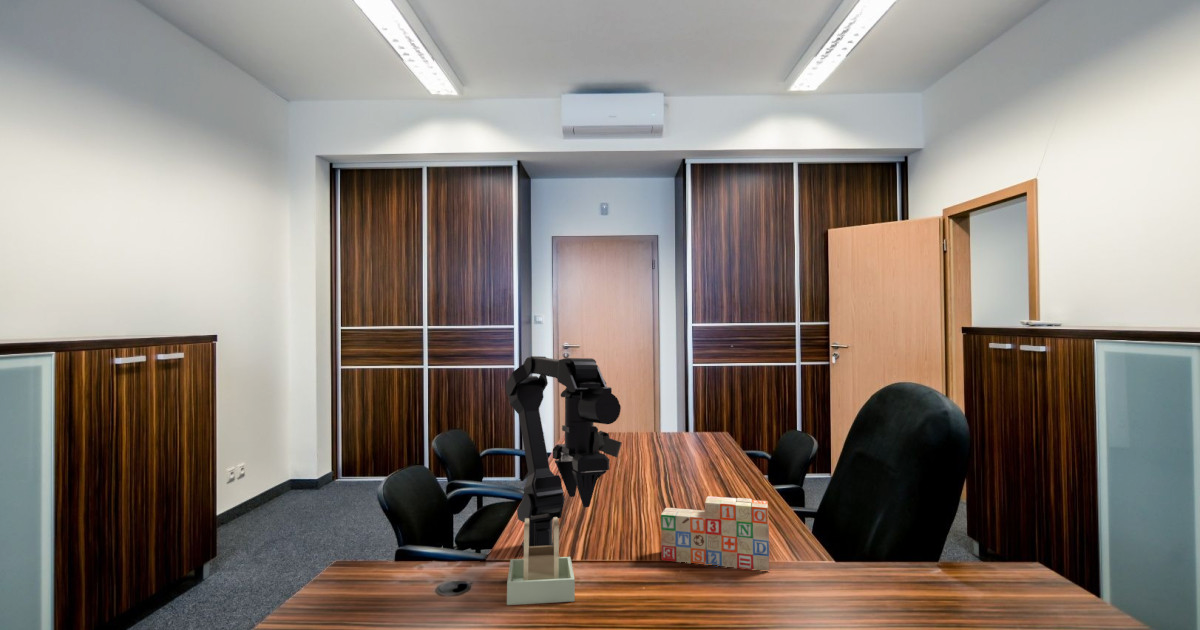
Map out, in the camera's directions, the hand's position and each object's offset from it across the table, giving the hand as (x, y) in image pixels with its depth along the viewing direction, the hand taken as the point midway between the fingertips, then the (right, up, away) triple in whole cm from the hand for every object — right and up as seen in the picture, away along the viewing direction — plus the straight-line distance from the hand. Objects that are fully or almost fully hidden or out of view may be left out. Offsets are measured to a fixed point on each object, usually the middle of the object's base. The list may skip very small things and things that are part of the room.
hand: (579, 501), depth 102 cm
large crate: (-6, -12, -10) cm, 17 cm away
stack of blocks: (+28, -14, +4) cm, 31 cm away
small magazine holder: (-6, -11, -10) cm, 17 cm away
